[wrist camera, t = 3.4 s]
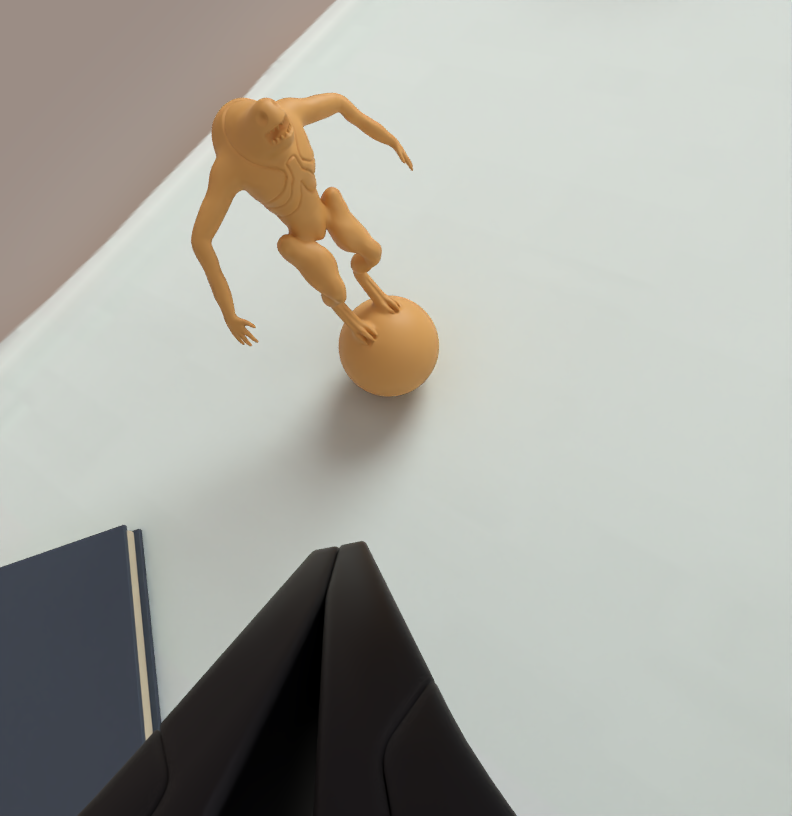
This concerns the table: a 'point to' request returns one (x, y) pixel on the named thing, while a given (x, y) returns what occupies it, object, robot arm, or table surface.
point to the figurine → (313, 235)
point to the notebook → (74, 672)
